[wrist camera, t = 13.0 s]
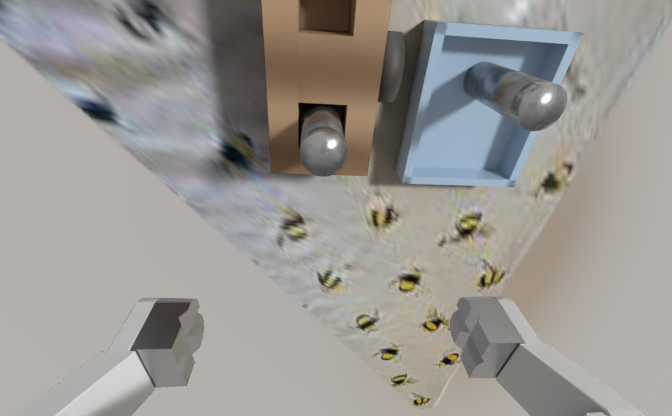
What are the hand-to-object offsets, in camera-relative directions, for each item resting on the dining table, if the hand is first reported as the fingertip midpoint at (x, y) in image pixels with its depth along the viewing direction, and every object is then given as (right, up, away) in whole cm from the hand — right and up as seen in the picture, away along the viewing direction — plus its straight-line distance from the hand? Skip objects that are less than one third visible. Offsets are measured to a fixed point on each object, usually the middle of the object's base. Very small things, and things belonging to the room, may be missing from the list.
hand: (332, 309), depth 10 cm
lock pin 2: (+13, +14, +17) cm, 26 cm away
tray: (+13, +13, +19) cm, 27 cm away
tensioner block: (-1, +16, +16) cm, 23 cm away
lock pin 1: (-1, +11, +17) cm, 21 cm away
